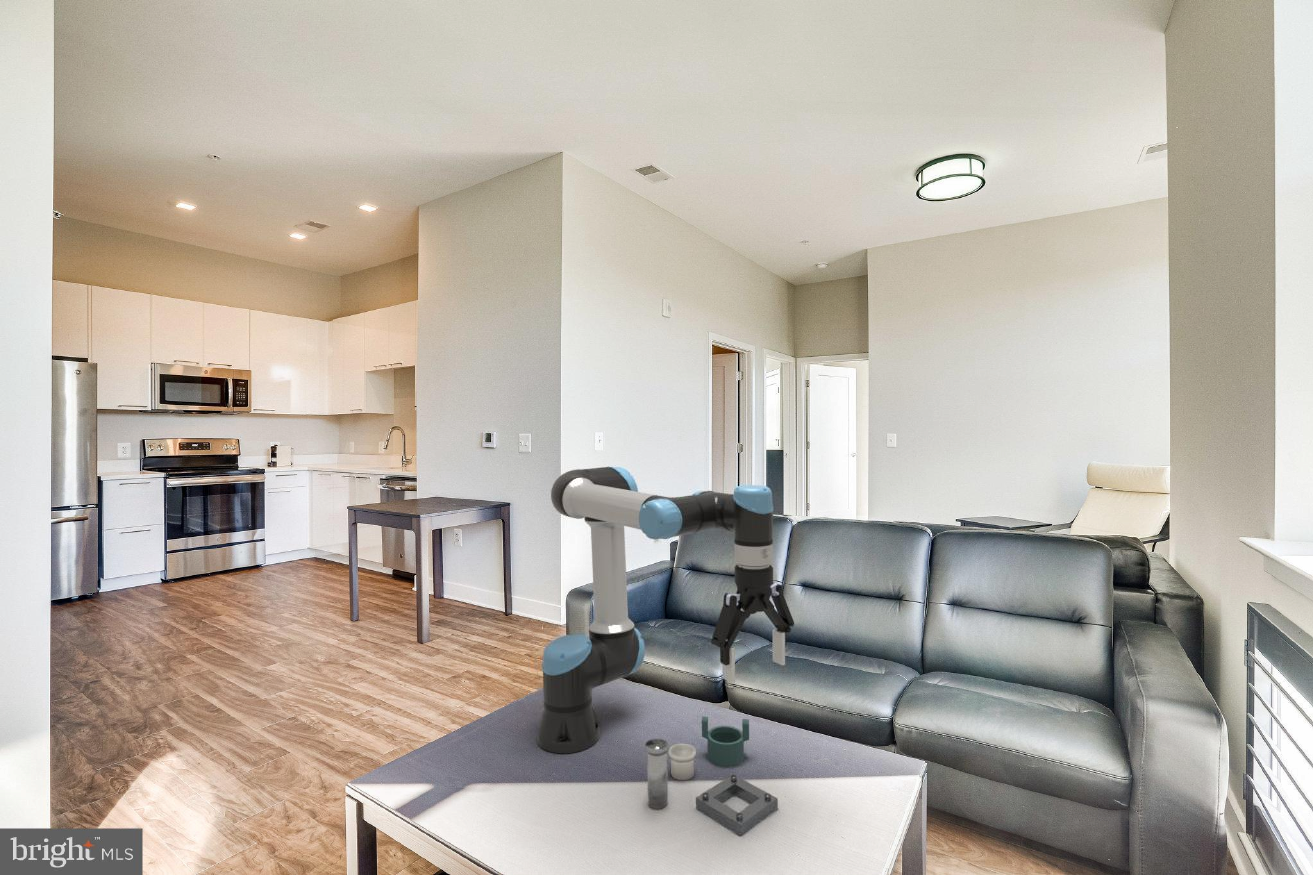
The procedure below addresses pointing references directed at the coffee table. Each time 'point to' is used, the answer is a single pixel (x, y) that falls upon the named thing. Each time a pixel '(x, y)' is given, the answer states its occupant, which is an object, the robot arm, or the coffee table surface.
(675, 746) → the cup
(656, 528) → the robot arm
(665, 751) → the grey cylinder
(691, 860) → the coffee table surface
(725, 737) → the green cup holder
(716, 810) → the socket
